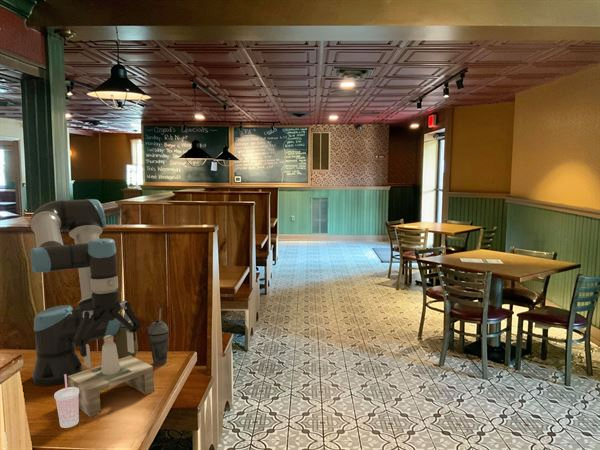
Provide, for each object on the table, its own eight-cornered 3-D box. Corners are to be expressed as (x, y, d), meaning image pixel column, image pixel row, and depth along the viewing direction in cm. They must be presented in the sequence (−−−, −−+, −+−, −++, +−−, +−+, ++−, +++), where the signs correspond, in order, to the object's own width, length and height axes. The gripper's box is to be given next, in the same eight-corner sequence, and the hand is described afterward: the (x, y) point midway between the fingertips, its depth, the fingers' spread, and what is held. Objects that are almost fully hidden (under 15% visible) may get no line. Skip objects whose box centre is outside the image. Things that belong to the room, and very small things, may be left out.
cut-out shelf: (69, 401, 138) (67, 376, 137) (132, 378, 153) (130, 355, 152) (90, 417, 129) (88, 389, 128) (154, 390, 143) (152, 366, 142)
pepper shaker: (100, 376, 136) (97, 340, 135) (102, 369, 141) (99, 334, 140) (119, 373, 138) (117, 338, 137) (121, 366, 143) (118, 332, 142)
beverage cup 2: (149, 360, 167) (146, 307, 165) (170, 357, 169) (167, 305, 167) (149, 368, 160) (145, 313, 158) (171, 365, 163) (167, 310, 160)
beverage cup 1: (85, 422, 126) (81, 373, 124) (62, 432, 121) (57, 381, 120) (76, 415, 130) (72, 367, 128) (53, 424, 125) (48, 375, 124)
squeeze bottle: (130, 364, 164) (130, 315, 163) (109, 361, 166) (109, 313, 164) (142, 356, 172) (142, 309, 170) (122, 353, 174) (122, 307, 172)
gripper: (66, 302, 125) (72, 376, 128) (149, 284, 144) (153, 349, 146) (56, 297, 130) (62, 369, 133) (137, 280, 149) (141, 343, 151)
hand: (110, 358), depth 139 cm, fingers open, 13 cm apart
